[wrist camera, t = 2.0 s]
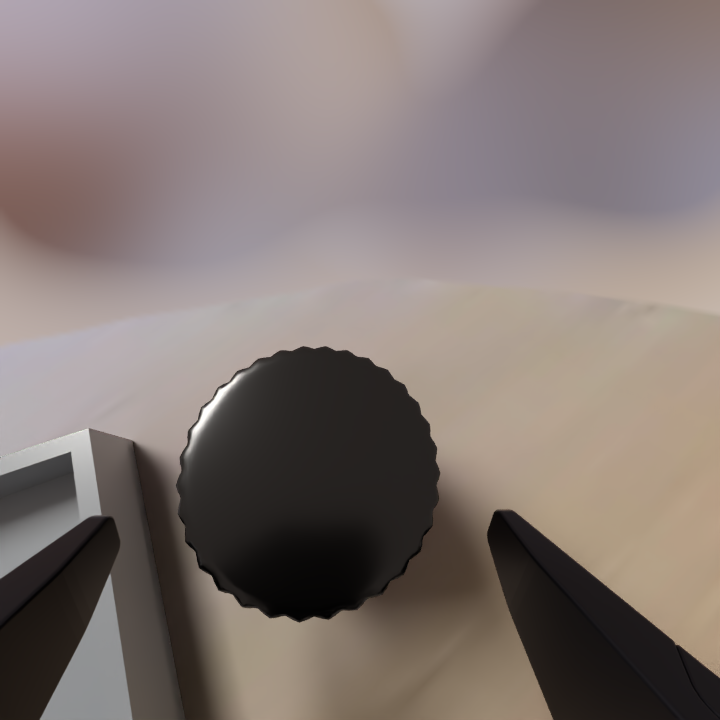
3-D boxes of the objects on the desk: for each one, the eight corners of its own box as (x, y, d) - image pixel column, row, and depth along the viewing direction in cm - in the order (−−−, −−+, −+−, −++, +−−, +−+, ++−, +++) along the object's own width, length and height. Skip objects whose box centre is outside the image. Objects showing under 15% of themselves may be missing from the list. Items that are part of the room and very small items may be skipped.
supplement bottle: (262, 406, 18) (180, 272, 7) (386, 421, 19) (491, 319, 8) (232, 550, 16) (27, 693, 5) (376, 563, 16) (512, 721, 5)
